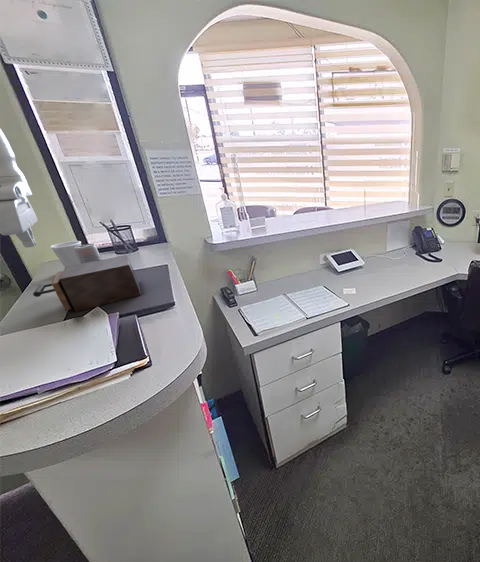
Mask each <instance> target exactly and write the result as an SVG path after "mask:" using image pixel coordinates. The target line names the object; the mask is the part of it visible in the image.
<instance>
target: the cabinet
mask: <svg viewBox="0 0 480 562" xmlns="http://www.w3.org/2000/svg"><path fill="white" fill-rule="evenodd" d="M62 271H63V273H62V275H61V277H60V281H61V283H62V285H63V287H64V289H65V291H66V293H67V295H68V297H69V299H70V301H71V303H72V307H73V309H74V312H76V313H77V312H82V311H85V310H88V309H93V308H96V307H101V306H105V305H107V304H112V303H116V302H120V301H123V300H128V299H131V298H136V297H139V296H141V295H142V293H141V288H140V282H139V280H138V277H137V274H136V272H135V270H134V267H133V265H132V263H131V260H130V257H129V255H128V254H126V255H119V256H115V257H108V258H104V259H102V260H98V261H93V262H88V263H83V264H78V265H73V266H67V267H64V268H63V270H62Z"/></svg>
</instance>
